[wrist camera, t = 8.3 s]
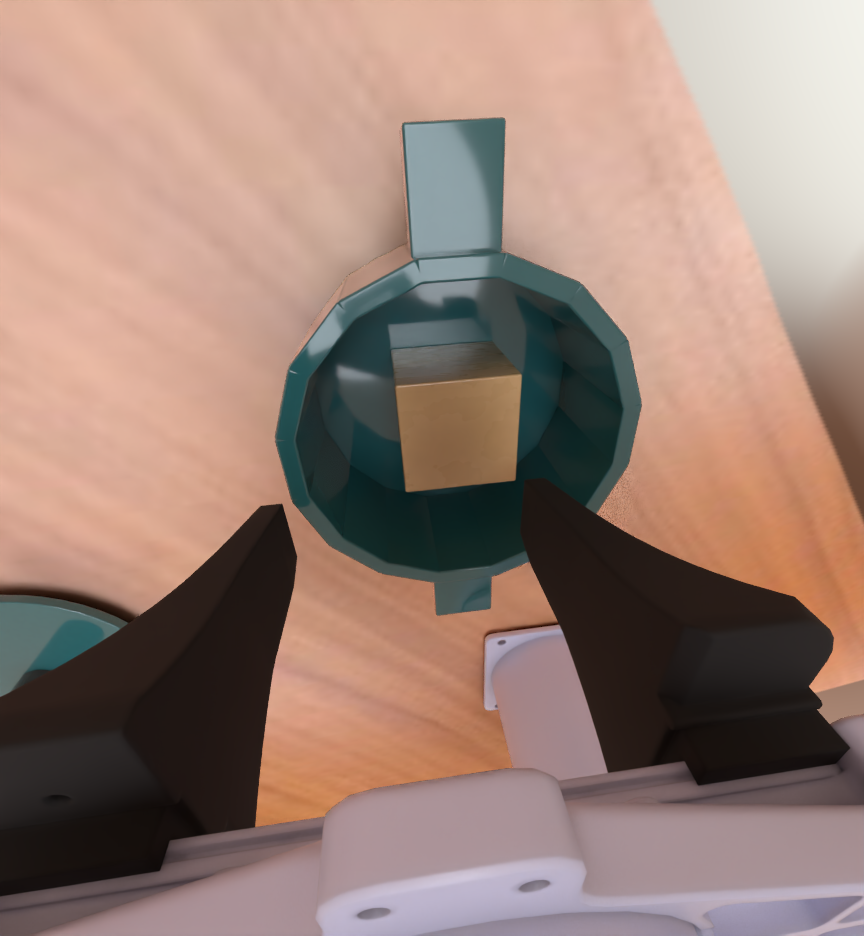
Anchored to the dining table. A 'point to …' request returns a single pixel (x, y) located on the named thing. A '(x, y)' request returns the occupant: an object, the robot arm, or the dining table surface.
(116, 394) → the dining table surface
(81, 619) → the lid
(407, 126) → the pot
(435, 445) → the block
